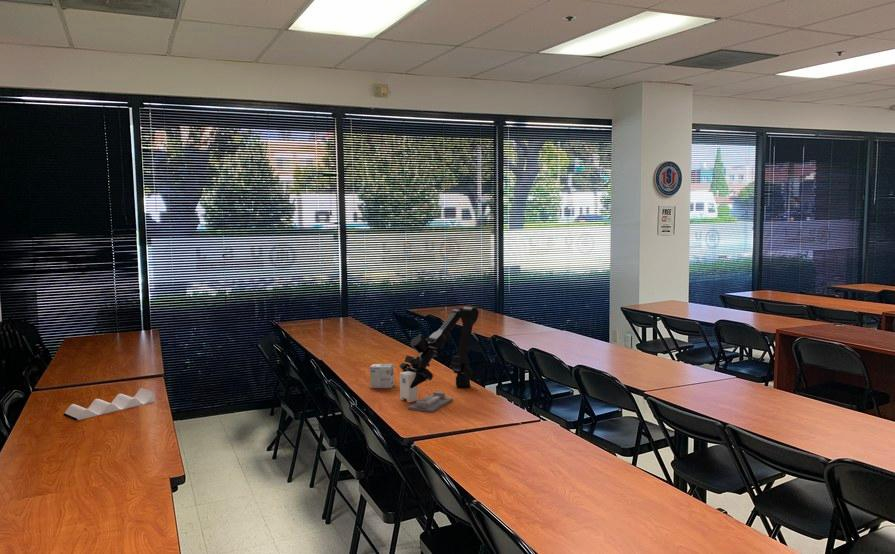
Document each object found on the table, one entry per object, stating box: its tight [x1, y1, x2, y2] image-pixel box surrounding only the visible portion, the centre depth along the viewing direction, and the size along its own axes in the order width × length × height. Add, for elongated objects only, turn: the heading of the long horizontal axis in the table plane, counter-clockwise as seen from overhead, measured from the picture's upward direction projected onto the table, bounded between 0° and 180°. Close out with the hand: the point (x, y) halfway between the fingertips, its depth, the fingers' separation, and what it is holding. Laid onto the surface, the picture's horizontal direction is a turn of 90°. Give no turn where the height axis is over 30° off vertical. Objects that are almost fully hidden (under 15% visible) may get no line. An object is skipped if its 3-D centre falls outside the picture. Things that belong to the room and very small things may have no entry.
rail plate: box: [407, 391, 454, 413], centre depth 299 cm, size 20×12×3 cm, turn 153°
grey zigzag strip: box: [63, 387, 156, 421], centre depth 300 cm, size 13×35×5 cm, turn 141°
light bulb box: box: [369, 363, 395, 389], centre depth 331 cm, size 11×7×11 cm, turn 84°
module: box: [399, 371, 419, 403], centre depth 306 cm, size 6×6×12 cm
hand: (406, 386), depth 306 cm, fingers closed on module, 6 cm apart
